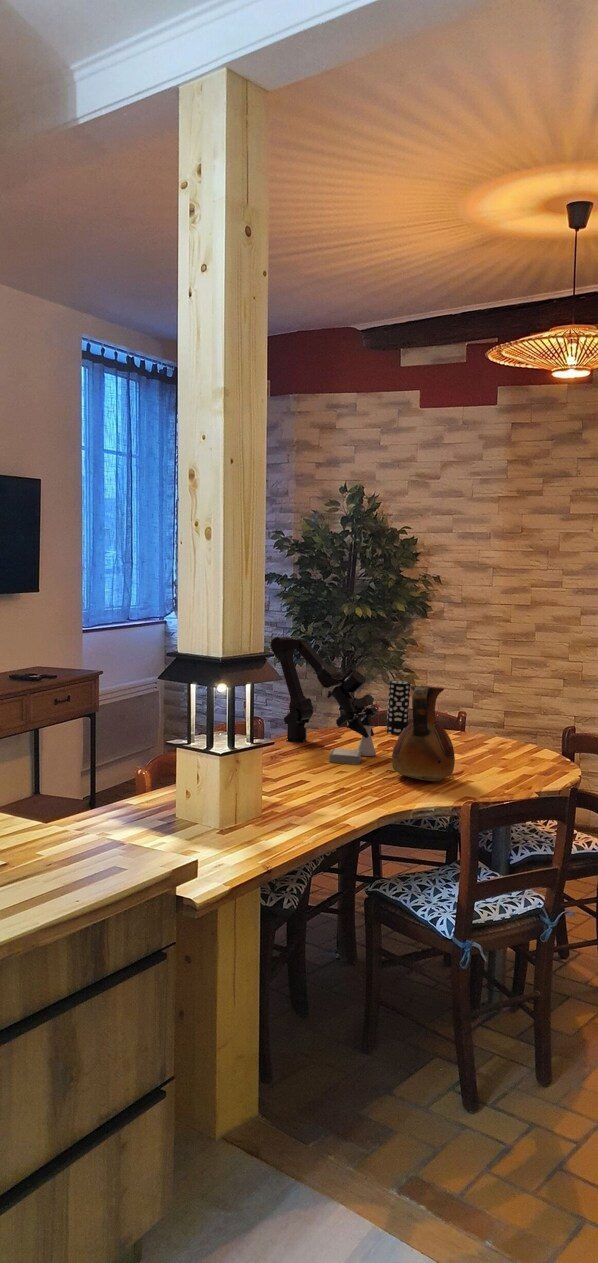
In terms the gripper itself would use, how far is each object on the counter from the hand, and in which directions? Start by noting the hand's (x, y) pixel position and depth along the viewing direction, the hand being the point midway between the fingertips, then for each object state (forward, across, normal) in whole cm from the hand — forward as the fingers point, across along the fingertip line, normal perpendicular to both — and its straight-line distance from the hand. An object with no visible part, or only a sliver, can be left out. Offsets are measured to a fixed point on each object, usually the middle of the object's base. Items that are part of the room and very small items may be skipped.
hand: (370, 736), depth 322 cm
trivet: (+4, -12, +6) cm, 14 cm away
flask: (+4, 0, +6) cm, 7 cm away
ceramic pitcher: (+26, -15, -16) cm, 34 cm away
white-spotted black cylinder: (-5, +42, +15) cm, 45 cm away
